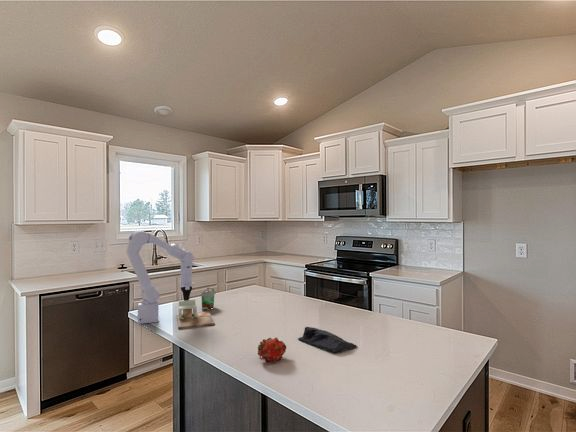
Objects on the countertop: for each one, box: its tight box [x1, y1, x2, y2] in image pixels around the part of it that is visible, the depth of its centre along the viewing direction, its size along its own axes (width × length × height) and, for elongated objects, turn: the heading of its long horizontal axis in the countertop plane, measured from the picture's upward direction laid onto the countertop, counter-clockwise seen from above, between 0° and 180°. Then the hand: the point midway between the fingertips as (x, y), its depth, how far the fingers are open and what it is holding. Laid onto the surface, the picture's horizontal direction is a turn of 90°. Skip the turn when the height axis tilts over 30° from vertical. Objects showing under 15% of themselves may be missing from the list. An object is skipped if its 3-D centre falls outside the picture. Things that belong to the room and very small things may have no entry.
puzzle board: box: [176, 311, 216, 330], centre depth 159 cm, size 16×20×1 cm
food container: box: [200, 287, 216, 311], centre depth 182 cm, size 12×6×10 cm, turn 179°
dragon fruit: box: [257, 337, 287, 364], centre depth 116 cm, size 8×8×12 cm
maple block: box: [182, 309, 193, 319], centre depth 163 cm, size 4×4×5 cm
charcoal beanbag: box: [297, 326, 358, 353], centre depth 131 cm, size 15×22×5 cm
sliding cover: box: [178, 299, 198, 319], centre depth 163 cm, size 8×7×7 cm
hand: (186, 301), depth 170 cm, fingers closed
